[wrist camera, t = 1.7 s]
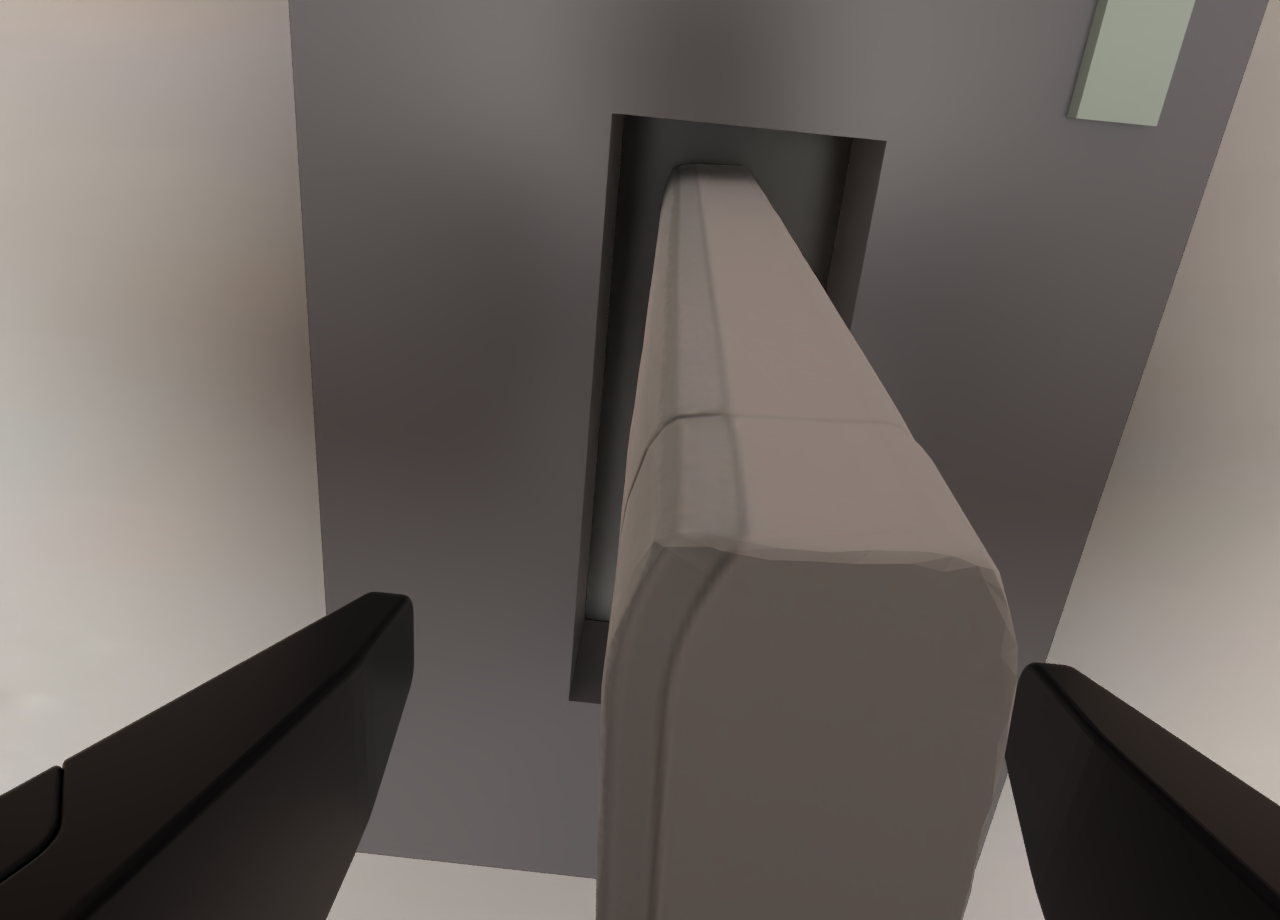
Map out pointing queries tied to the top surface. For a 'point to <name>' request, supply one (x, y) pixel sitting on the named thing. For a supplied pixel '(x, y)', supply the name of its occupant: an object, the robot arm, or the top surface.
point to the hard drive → (787, 609)
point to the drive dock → (580, 294)
